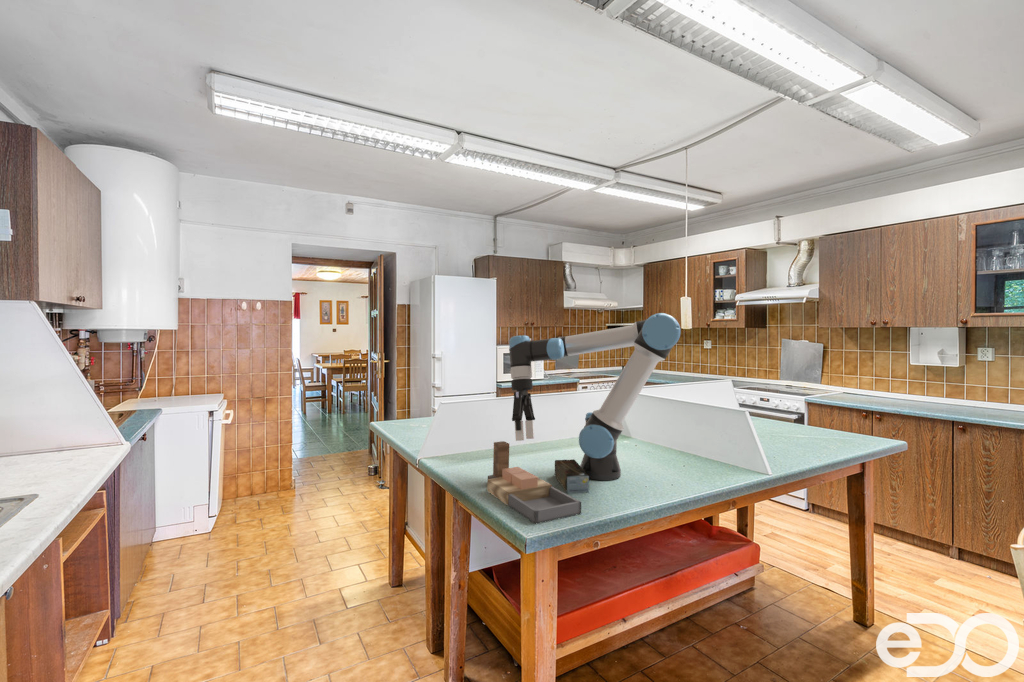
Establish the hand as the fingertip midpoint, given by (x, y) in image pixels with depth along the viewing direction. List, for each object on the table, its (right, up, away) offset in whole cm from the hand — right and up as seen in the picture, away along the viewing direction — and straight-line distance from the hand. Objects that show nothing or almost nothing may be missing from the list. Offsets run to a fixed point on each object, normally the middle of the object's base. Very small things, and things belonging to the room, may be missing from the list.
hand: (525, 439), depth 166 cm
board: (-2, -15, -12) cm, 19 cm away
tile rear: (-4, -11, -9) cm, 15 cm away
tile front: (-1, -11, -15) cm, 19 cm away
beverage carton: (+16, -16, 0) cm, 22 cm away
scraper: (-9, -15, -1) cm, 17 cm away
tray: (+5, -16, -25) cm, 30 cm away
